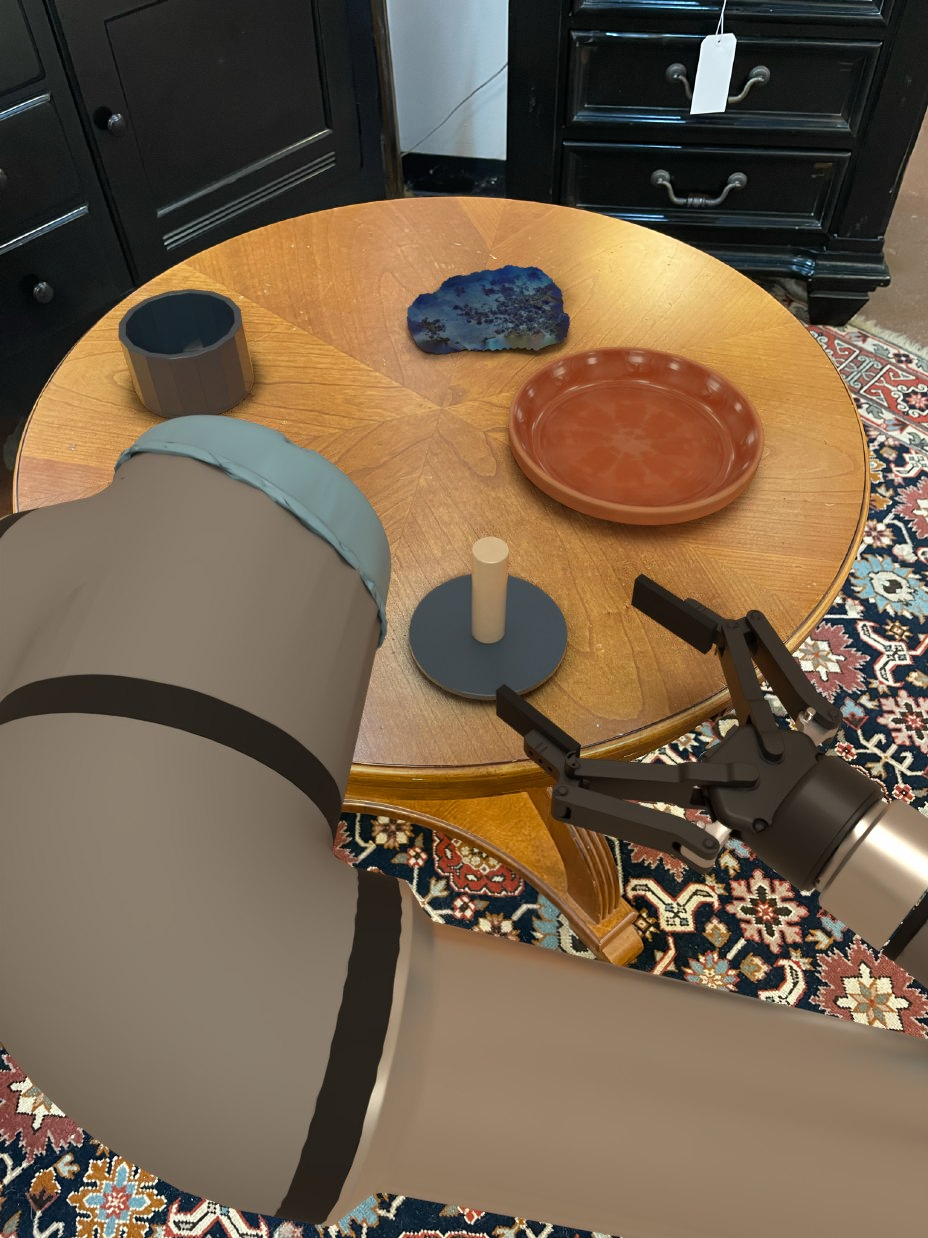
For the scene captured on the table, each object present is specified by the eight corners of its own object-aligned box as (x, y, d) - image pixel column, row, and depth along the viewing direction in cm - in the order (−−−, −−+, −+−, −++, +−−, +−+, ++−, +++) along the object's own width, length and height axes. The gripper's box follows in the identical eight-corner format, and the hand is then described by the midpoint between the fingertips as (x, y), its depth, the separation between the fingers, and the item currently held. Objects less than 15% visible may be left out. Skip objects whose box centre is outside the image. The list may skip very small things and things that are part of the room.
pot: (137, 427, 91) (117, 365, 86) (138, 357, 98) (119, 296, 93) (258, 411, 92) (245, 349, 87) (250, 344, 100) (237, 282, 94)
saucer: (802, 446, 89) (813, 414, 86) (661, 580, 78) (669, 549, 75) (605, 349, 99) (609, 317, 96) (456, 457, 88) (456, 425, 85)
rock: (573, 352, 98) (575, 335, 97) (408, 358, 98) (406, 341, 96) (558, 277, 108) (559, 261, 106) (407, 283, 108) (406, 267, 106)
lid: (425, 718, 70) (420, 630, 62) (397, 595, 77) (389, 502, 69) (585, 689, 71) (600, 600, 63) (542, 571, 79) (551, 478, 71)
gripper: (704, 1027, 51) (438, 783, 62) (939, 751, 62) (678, 583, 73) (729, 975, 46) (431, 717, 56) (982, 681, 57) (694, 510, 67)
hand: (570, 641), depth 64 cm, fingers open, 13 cm apart
